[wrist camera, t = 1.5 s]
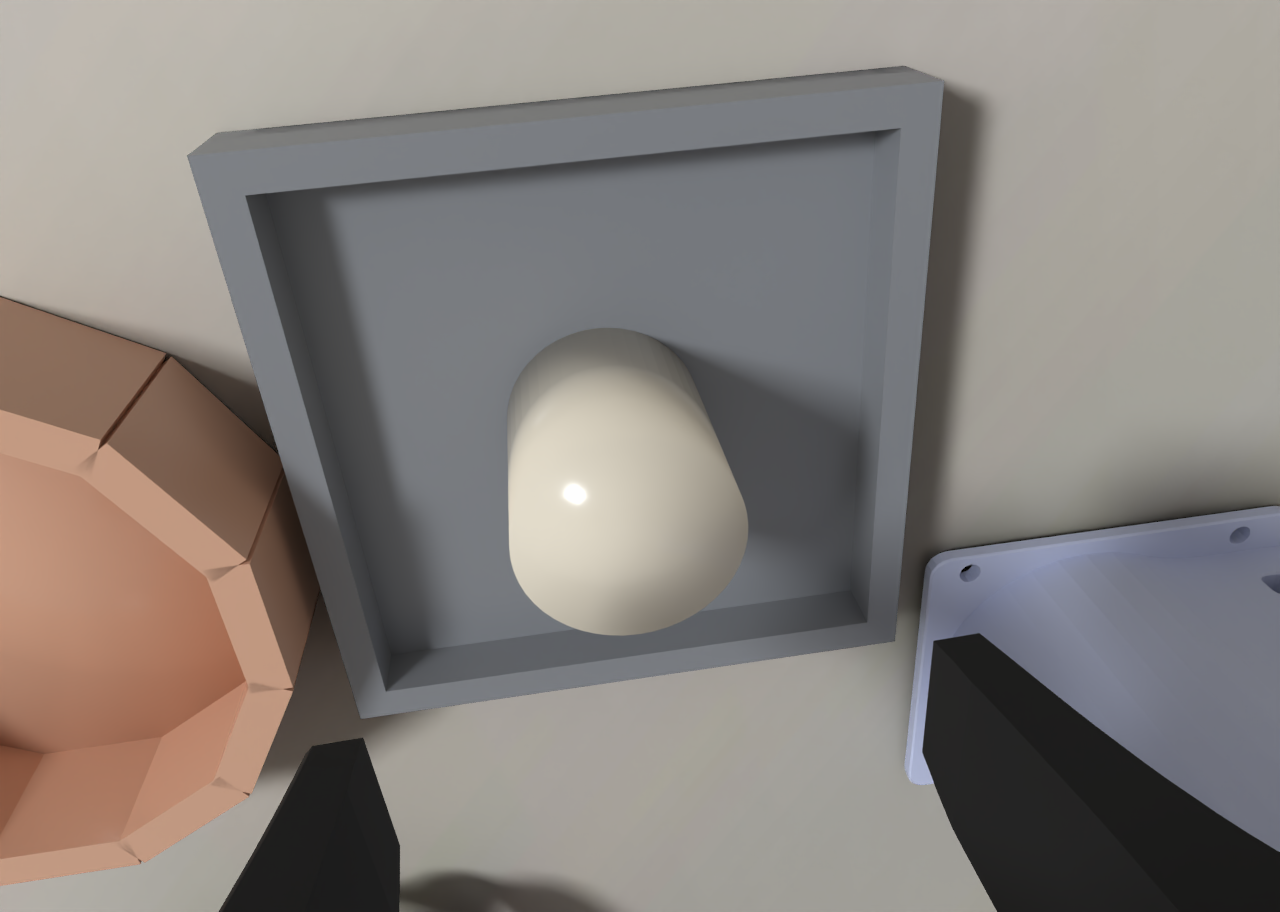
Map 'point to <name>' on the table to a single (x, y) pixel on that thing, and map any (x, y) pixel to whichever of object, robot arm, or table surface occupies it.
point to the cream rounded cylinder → (618, 486)
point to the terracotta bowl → (133, 600)
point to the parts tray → (569, 303)
